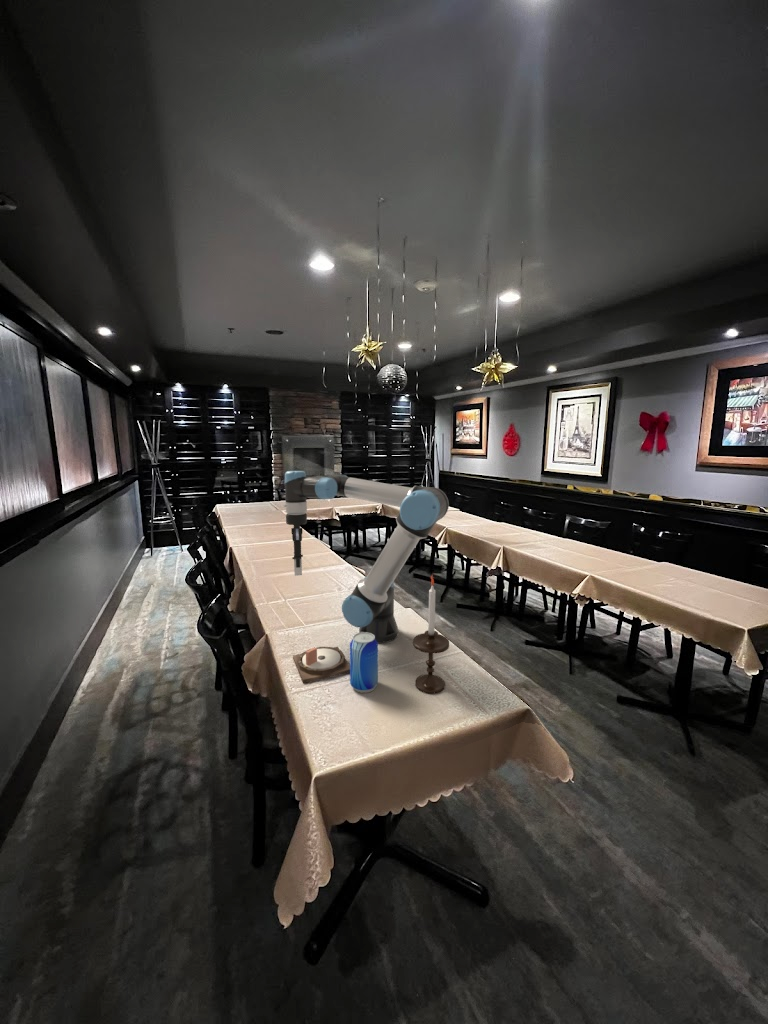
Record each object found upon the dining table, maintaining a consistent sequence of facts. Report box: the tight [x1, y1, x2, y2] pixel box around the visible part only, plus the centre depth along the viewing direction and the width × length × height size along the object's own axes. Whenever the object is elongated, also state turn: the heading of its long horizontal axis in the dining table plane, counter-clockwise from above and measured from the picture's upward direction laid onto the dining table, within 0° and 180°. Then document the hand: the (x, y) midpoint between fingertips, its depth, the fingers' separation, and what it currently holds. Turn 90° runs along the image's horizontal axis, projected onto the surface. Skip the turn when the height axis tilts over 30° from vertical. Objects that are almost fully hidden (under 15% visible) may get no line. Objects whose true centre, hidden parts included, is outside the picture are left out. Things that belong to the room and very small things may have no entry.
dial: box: [302, 647, 341, 669], centre depth 134 cm, size 13×13×6 cm
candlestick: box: [412, 574, 450, 695], centre depth 121 cm, size 11×11×35 cm
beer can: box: [349, 632, 379, 694], centre depth 121 cm, size 8×8×16 cm
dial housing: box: [292, 646, 350, 684], centre depth 134 cm, size 16×16×3 cm
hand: (298, 574), depth 152 cm, fingers closed
